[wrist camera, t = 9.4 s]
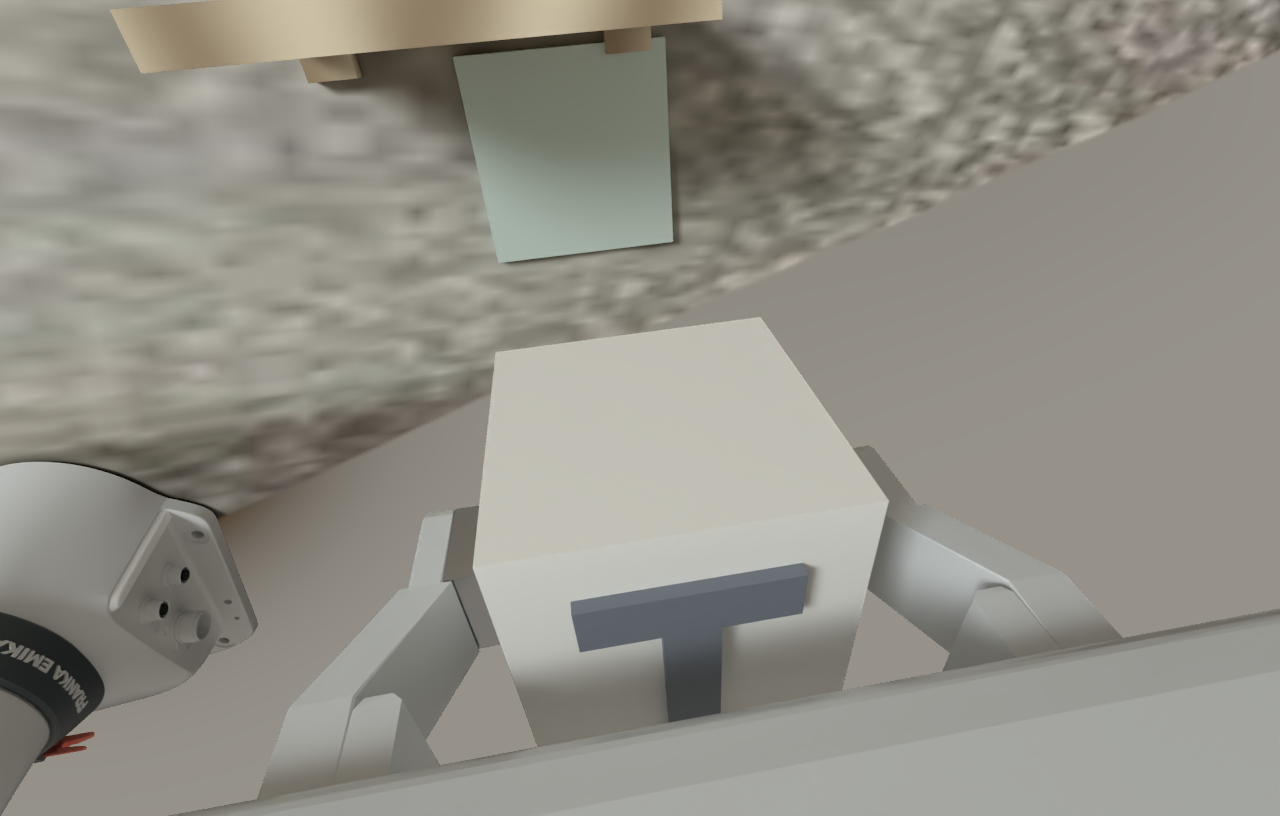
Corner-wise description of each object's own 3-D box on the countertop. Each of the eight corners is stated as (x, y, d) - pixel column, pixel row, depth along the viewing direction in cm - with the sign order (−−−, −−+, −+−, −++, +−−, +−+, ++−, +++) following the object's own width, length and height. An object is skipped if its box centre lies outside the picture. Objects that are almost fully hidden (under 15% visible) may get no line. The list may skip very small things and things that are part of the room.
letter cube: (749, 510, 14) (840, 728, 10) (543, 543, 14) (547, 784, 10) (760, 317, 11) (897, 511, 7) (495, 352, 11) (471, 581, 7)
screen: (648, -72, 29) (723, -116, 17) (654, 48, 31) (721, 78, 20) (265, -42, 27) (72, -67, 16) (308, 81, 30) (171, 134, 19)
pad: (671, 238, 38) (673, 241, 37) (498, 259, 37) (498, 263, 36) (663, 36, 31) (665, 36, 31) (453, 56, 30) (452, 57, 30)
